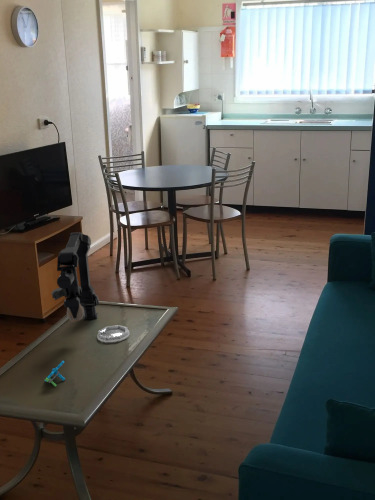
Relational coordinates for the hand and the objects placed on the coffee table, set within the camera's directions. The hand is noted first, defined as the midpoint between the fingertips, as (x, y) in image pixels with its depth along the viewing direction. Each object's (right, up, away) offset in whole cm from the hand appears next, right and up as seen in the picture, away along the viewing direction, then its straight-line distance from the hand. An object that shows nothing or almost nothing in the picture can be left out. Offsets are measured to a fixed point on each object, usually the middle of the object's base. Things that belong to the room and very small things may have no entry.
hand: (75, 314), depth 246 cm
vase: (0, -2, +1) cm, 2 cm away
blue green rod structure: (-2, -21, -31) cm, 38 cm away
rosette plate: (+16, -10, +4) cm, 19 cm away
